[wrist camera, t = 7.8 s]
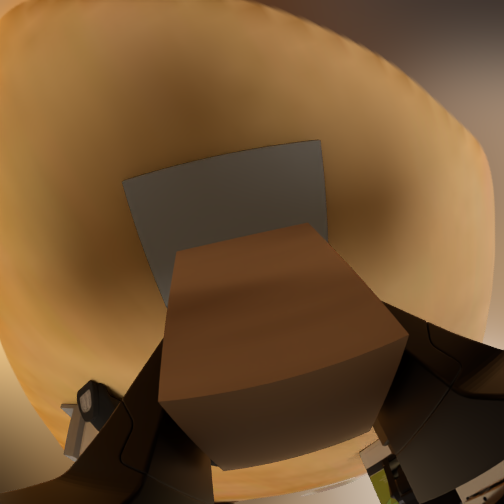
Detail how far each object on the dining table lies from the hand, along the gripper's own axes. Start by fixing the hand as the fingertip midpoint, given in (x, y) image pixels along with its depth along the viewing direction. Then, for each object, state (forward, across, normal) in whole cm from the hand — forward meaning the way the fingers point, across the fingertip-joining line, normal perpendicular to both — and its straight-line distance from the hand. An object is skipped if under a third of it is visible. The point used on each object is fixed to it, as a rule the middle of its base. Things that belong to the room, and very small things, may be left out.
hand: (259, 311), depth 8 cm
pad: (+4, 0, 0) cm, 4 cm away
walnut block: (+1, 0, 0) cm, 1 cm away
